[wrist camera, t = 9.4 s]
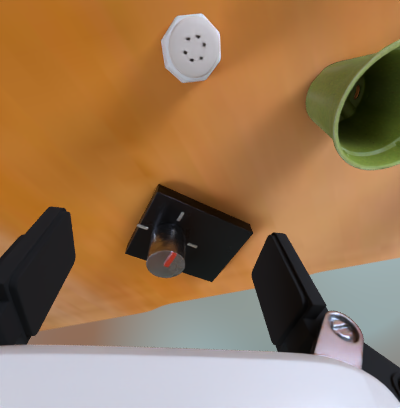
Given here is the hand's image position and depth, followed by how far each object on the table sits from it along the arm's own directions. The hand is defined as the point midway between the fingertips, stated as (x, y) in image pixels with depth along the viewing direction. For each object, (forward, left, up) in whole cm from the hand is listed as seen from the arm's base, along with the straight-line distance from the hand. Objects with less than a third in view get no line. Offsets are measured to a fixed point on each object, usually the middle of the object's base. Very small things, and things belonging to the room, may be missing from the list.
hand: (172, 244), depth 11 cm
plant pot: (+12, +12, -18) cm, 24 cm away
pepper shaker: (-3, +8, -18) cm, 19 cm away
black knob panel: (+7, -12, -17) cm, 22 cm away
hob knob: (+4, -12, -15) cm, 20 cm away
